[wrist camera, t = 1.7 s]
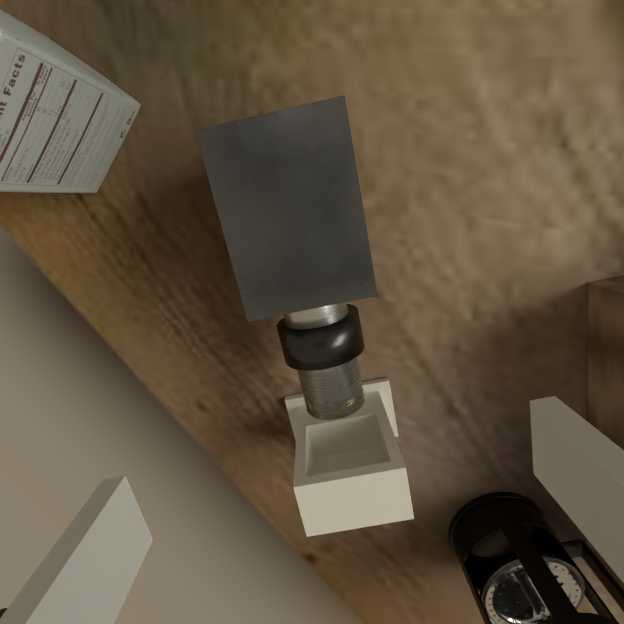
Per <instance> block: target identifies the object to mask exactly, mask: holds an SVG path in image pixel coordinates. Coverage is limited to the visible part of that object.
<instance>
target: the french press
mask: <svg viewBox="0 0 624 624" xmlns="http://www.w3.org/2000/svg"><path fill="white" fill-rule="evenodd" d="M521 524H526V525H532V526H533V532H532V535H531V538H530V537H529V536H528V534H527V533H526V531H525V530H524V528H523V526H522V525H521ZM498 528H501V530H502V531H503V533H504V535H505V537H506V538H507V540H508V542H509V544H510V545H511V547H512V549H513V551H514V552H515V554H514V555H512V556H509V557H507V558H503V559H498V560H486V559H482V558H479V557H476V556H474V555H473V554H471V553H470V550H471V548H472V547H473V546H474V545H475V543H476V542H477V541H479V540H480V539H481V538H482V537H483V536H485V535H486V534H488V533H490V532H491V531H494V530H496V529H498ZM449 542H450V545H451V548H452V550H453V552H454V554H455V555H456V557H457V558H458V559H459V562H460V564H461V567H462V569H463V572H464V574H465V576H466V579H467V581H468V584H469V586H470V589H471V591H472V593H473V596H474V598H475V601H476V603H477V606H478V608H479V610H480V613H481V615H482V618H483V620H484V623H485V624H492V623H493V624H619V623H618V622H617V620H616V619H615V618H614V616H613V615H612V613H611V612H610V611H609V609H608V608H607V607H606V605H605V604H604V602H603V601H602V600H601V598H600V597H599V596H598V594H597V593H596V591H595V590H594V589H593V587H592V586H591V585H590V583H589V582H588V580H587V579H586V578H585V576H584V575H583V573H582V572H581V571H580V569H579V568H578V567H577V565H576V564H575V562H574V561H573V560H572V558H574V557H582V558H583V559H584V560H585V562H586V563H587V564H588V566H589V567H590V568H591V570H592V571H593V572H594V573H595V575H596V576H597V577H598V579H599V580H600V581H601V583H602V584H603V585H604V587H605V588H606V589H607V591H608V592H609V593H610V595H611V596H612V597H613V599H614V600H615V601H616V602H617V604H618V605H619V606H620V608H621V609H622V610H623V612H624V590H623V589H622V588H621V587H620V585H619V584H618V583H617V582H616V580H615V579H614V578H613V577H612V575H611V574H610V573H609V572H608V570H607V569H606V568H605V567H604V565H603V564H602V563H601V562H600V560H599V559H598V558H597V557H596V555H595V554H594V553H593V552H592V550H591V549H590V548H589V547H588V545H587V544H586V543H585V542H584V541H583V540H581V539H578V540H572V541H566V542H560V540H559V538H558V537H557V536H556V534H555V533H554V531H553V530H552V529H551V527H550V526H549V525H548V523H547V522H546V519H545V517H544V515H543V513H542V511H541V510H540V508H539V507H538V506H537V505H536V504H535V503H534V502H532V501H531V500H530V499H528V498H526V497H524V496H522V495H519V494H514V493H507V492H499V493H491V494H487V495H484V496H481V497H479V498H476V499H474V500H472V501H471V502H469V503H468V504H466V505H465V506H464V507H463V508H461V509H460V510H459V511H458V513H457V514H456V515H455V517H454V518H453V520H452V522H451V524H450V529H449ZM478 591H479V592H480V595H479V593H478ZM584 594H585V596H586V597H587V599H588V600H589V602H590V603H591V604H592V606H593V607H594V609H595V610H596V612H597V613H598V615H597V614H593V613H578V611H577V608H578V607H579V605H580V604H581V602H582V599H583V597H584ZM491 622H492V623H491Z"/></svg>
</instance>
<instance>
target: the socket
mask: <svg viewBox="0 0 624 624" xmlns="http://www.w3.org/2000/svg"><path fill="white" fill-rule="evenodd" d="M362 385H363V391H364V396H365V402H364V404H363V406H362V407H361V408H360V409H359V410H358V411H356V412H355V413H353V414H351V415H349V416H347V417H344V418H340V419H335V420H322V419H317V418H314V417H312V416H311V415H310V414H309V413H308V411H307V408H306V404H305V400H304V396H303V393H302V394H297V395H292V396H287V397H285V403H286V407H287V411H288V415H289V419H290V422H291V426H292V430H293V434H294V438H295V442H296V451H295V467H294V484H293V488H294V492H295V495H296V499H297V503H298V506H299V510H300V514H301V517H302V521H303V524H304V528H305V532H306V535H307V537H309V536H315V535H321V534H327V533H333V532H339V531H345V530H351V529H357V528H363V527H369V526H375V525H381V524H386V523H392V522H398V521H404V520H410V519H414V514H413V508H412V502H411V496H410V490H409V484H408V478H407V472H406V467H405V464H404V461H403V458H402V455H401V453H400V450H399V447H398V444H397V441H396V438H395V437H398V431H397V425H396V419H395V413H394V407H393V401H392V395H391V389H390V383H389V379H388V377H386V378H381V379H376V380H370V381H365V382H362Z"/></svg>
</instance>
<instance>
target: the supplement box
mask: <svg viewBox="0 0 624 624" xmlns="http://www.w3.org/2000/svg"><path fill="white" fill-rule="evenodd" d="M140 106H141V105H140V103H139V102H137V101H136V100H135V99H133V98H132V97H131V96H129V95H128V94H127V93H125V92H124V91H123V90H121V89H120V88H119V87H117V86H116V85H115V84H113V83H112V82H110V81H109V80H108V79H106V78H105V77H104V76H102V75H101V74H100V73H98V72H97V71H96V70H94V69H93V68H91V67H90V66H89V65H87V64H86V63H84V62H83V61H81V60H80V59H78V58H77V57H76V56H74V55H73V54H71V53H70V52H68V51H67V50H65V49H64V48H62V47H61V46H60V45H58V44H57V43H55V42H54V41H52V40H51V39H49V38H48V37H47V36H45V35H43V34H41V33H39V32H38V31H36V30H34V29H33V28H31V27H29V26H28V25H26V24H24V23H23V22H21V21H19V20H18V19H16V18H14V17H13V16H11V15H9V14H8V13H6V12H4V11H3V10H1V9H0V192H39V193H97V191H98V189H99V188H100V186H101V184H102V182H103V180H104V178H105V176H106V174H107V172H108V170H109V169H110V167H111V165H112V163H113V161H114V158H115V157H116V155H117V153H118V151H119V149H120V147H121V145H122V143H123V141H124V139H125V137H126V135H127V133H128V131H129V129H130V127H131V125H132V123H133V121H134V119H135V117H136V115H137V113H138V111H139V109H140Z"/></svg>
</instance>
